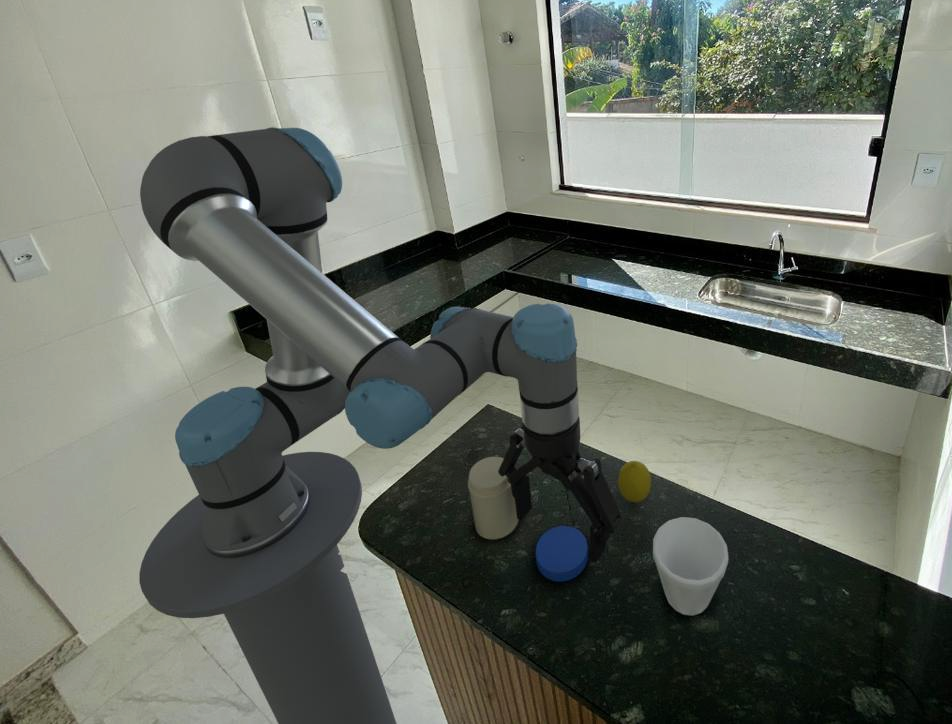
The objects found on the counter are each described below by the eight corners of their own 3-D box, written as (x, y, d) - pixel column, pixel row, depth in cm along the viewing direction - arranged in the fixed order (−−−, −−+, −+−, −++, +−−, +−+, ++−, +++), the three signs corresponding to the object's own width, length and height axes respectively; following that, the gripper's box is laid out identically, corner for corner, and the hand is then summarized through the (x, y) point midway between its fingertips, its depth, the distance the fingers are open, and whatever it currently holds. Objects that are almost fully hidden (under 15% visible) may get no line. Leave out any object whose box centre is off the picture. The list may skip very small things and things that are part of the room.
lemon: (612, 501, 83) (611, 465, 80) (631, 481, 87) (631, 446, 84) (638, 518, 80) (638, 481, 77) (657, 497, 84) (658, 461, 80)
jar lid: (598, 549, 75) (597, 540, 74) (568, 592, 69) (567, 583, 68) (557, 526, 79) (556, 517, 78) (525, 565, 73) (524, 556, 72)
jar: (465, 531, 78) (456, 481, 74) (491, 497, 84) (483, 450, 80) (504, 545, 76) (496, 494, 72) (527, 509, 82) (521, 461, 78)
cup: (637, 598, 68) (637, 552, 64) (676, 548, 74) (678, 504, 71) (700, 649, 61) (704, 601, 58) (736, 589, 68) (742, 543, 65)
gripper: (648, 433, 61) (646, 552, 69) (500, 376, 73) (513, 482, 81) (618, 473, 55) (620, 598, 63) (462, 403, 67) (480, 515, 75)
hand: (559, 533), depth 72 cm, fingers open, 13 cm apart
